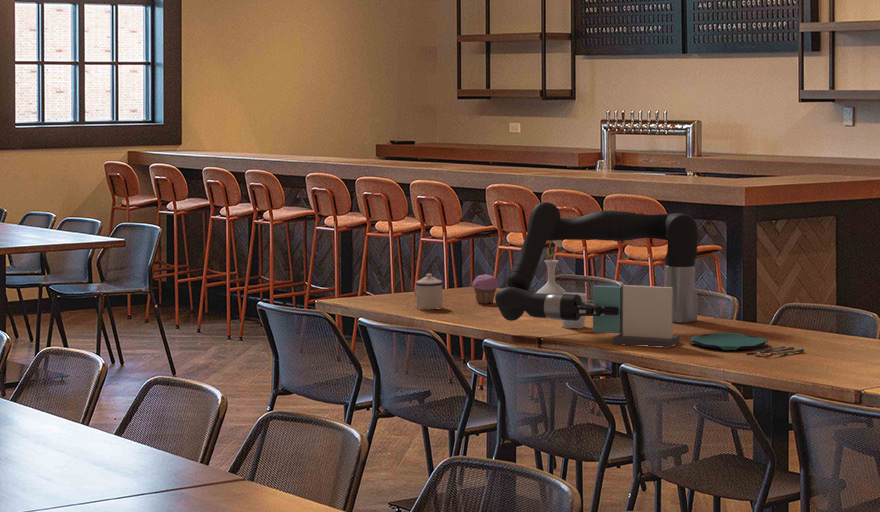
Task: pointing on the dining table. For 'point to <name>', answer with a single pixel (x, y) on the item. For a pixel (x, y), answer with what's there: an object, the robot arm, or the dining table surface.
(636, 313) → the ticket stand
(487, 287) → the cupcake
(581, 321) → the white cup
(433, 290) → the teacup with lid
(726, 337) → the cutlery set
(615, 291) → the teal flat panel
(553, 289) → the flower in vase
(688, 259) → the robot arm
